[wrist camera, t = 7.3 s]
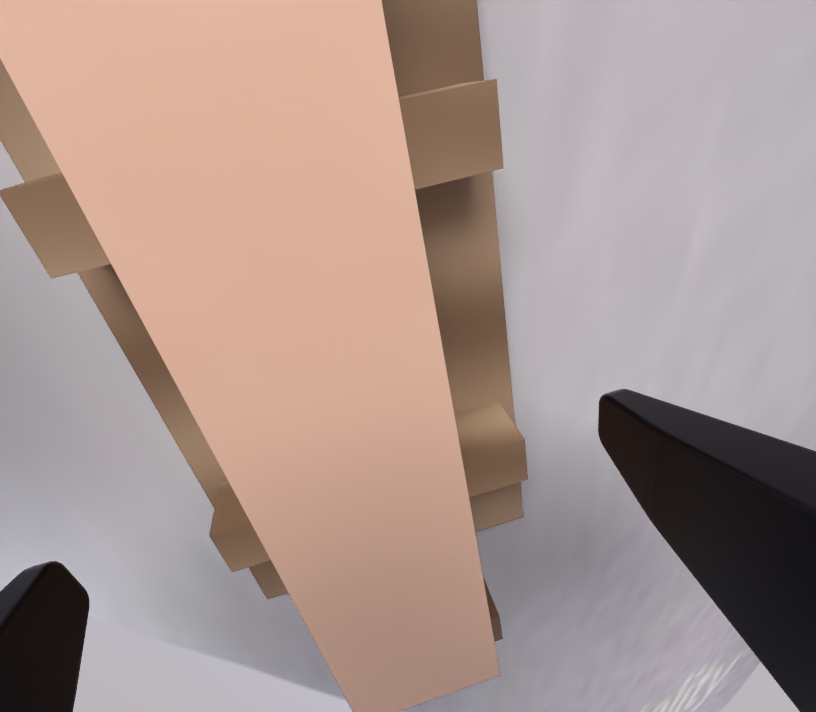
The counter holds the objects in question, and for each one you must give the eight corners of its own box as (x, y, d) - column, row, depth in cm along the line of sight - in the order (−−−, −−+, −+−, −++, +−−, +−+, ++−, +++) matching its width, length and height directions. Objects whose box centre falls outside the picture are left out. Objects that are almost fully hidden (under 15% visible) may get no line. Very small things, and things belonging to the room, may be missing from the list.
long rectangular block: (451, 541, 15) (500, 675, 11) (343, 576, 14) (360, 725, 11) (330, -8, 8) (363, -96, 4) (113, 37, 7) (-44, -21, 4)
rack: (514, 501, 19) (577, 614, 15) (268, 580, 18) (261, 724, 14) (447, -166, 9) (575, -387, 5) (-99, -75, 8) (-494, -255, 4)
